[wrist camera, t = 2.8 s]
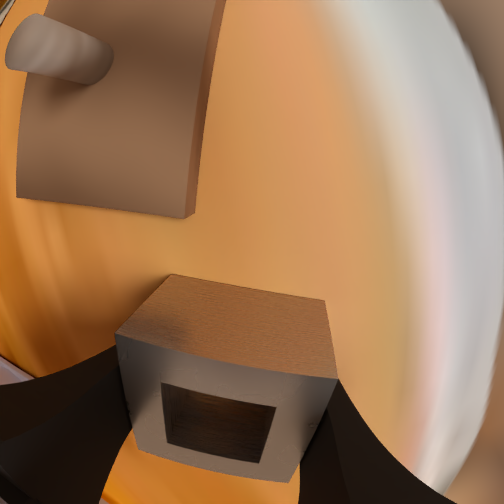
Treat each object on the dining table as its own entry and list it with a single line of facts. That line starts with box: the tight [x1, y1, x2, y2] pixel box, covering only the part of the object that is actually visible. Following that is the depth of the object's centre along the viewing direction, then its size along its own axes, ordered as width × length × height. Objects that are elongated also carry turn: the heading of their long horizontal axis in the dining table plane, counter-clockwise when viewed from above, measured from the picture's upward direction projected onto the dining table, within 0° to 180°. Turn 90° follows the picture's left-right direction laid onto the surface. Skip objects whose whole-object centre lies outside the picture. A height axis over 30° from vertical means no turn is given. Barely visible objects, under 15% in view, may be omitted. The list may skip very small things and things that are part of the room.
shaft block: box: [5, 0, 226, 219], centre depth 6 cm, size 10×8×4 cm
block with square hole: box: [115, 274, 338, 483], centre depth 9 cm, size 5×5×4 cm
